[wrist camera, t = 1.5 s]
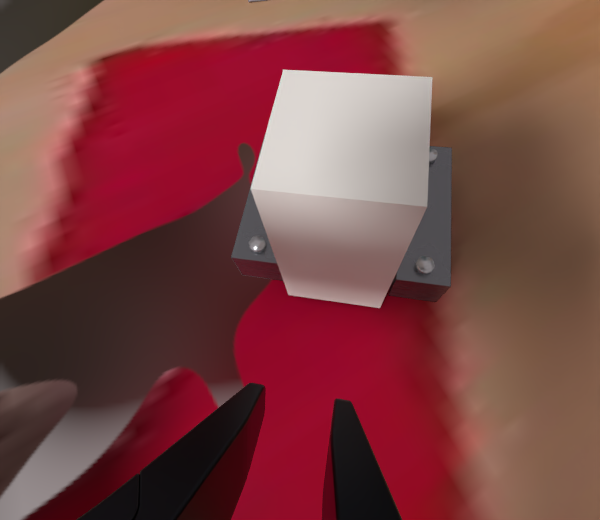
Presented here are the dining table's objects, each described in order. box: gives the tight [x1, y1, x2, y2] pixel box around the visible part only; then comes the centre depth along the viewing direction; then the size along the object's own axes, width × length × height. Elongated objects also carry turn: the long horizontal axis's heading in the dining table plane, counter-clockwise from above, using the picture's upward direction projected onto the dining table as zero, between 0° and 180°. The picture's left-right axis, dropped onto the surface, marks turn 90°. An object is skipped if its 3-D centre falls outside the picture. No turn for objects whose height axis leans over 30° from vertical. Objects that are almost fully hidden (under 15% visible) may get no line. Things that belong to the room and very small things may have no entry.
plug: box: [251, 70, 432, 308], centre depth 19 cm, size 7×6×12 cm
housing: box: [231, 133, 452, 302], centre depth 24 cm, size 10×13×3 cm
